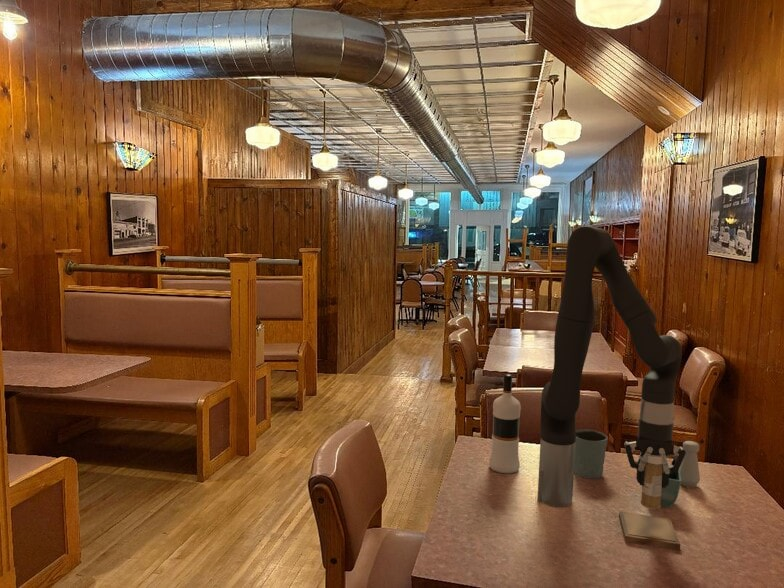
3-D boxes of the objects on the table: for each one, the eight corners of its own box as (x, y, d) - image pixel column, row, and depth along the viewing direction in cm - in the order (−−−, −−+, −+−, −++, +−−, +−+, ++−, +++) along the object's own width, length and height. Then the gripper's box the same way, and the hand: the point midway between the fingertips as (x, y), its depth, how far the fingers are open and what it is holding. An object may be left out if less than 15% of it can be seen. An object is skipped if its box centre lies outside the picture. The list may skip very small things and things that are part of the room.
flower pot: (677, 498, 155) (679, 468, 154) (678, 513, 147) (681, 481, 146) (642, 492, 158) (645, 462, 157) (642, 505, 151) (644, 474, 149)
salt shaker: (703, 489, 160) (706, 446, 159) (683, 489, 161) (686, 446, 159) (692, 480, 166) (696, 438, 165) (673, 480, 166) (676, 438, 165)
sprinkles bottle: (636, 501, 138) (639, 449, 137) (654, 500, 139) (657, 449, 137) (647, 510, 134) (650, 457, 132) (664, 509, 134) (668, 456, 133)
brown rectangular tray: (624, 541, 133) (625, 535, 133) (618, 516, 144) (619, 510, 144) (679, 550, 130) (680, 543, 130) (669, 524, 141) (669, 518, 141)
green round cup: (570, 476, 168) (572, 438, 166) (570, 463, 177) (572, 427, 176) (606, 481, 165) (609, 442, 163) (604, 467, 174) (606, 431, 173)
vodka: (484, 463, 176) (487, 371, 173) (511, 460, 178) (515, 370, 175) (496, 476, 167) (500, 379, 164) (524, 473, 169) (529, 377, 166)
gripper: (684, 415, 135) (680, 482, 138) (622, 410, 139) (618, 475, 141) (692, 426, 128) (687, 496, 130) (626, 420, 132) (622, 488, 134)
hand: (651, 485), depth 136 cm, fingers closed on sprinkles bottle, 4 cm apart
